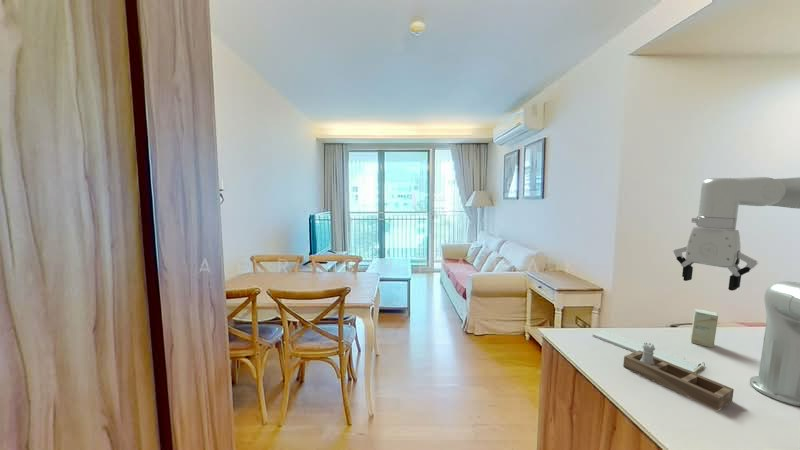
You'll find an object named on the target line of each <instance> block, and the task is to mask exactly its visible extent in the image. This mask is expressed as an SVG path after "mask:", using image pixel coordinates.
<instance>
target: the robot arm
mask: <svg viewBox="0 0 800 450" xmlns="http://www.w3.org/2000/svg"><path fill="white" fill-rule="evenodd" d="M700 189H701V190H700V199H699V205H698V216H697V217H692V218H691V223H692V224H693V223H695V224H696V225H695V226H694V227H692V229H691V230H690V231H691V232H690V234H689V237H688V242H687V245H686V246H685V247H681V248H677V249H674V250H673V251H672V252H673V253H674V255H675V257H676V260H677V261H678V263H680V266H681V267H682V275H681V277H683V281H685V282H687V281H691V280H692V278H693V272H694V267H693V266H692V265H693V264H700V265H706V266H712V267H718V268H727V269H728V270H729V272H730V273H731V274H732V275H730V276H729V281H728V288H727V289H728V290H729V291H736V290H737V289H740V286H741V281H742V276H743V275H745V274H747V273H750V272H751V271H752V270H753V269H755V268H756V266H758V264H759V261H757V260H756V259H754V258H752V257H750V256H748V255H746V254H744V253H742V252H741V236H740V232H739V230H738V229H736V228H737V220H738V212H739V206H749V207H766V206H767V207H778V208H779V207H782V208H790V209H797V210H798V209H800V176H799V177H798V176H797V177H787V178H785V177H783V178H773V177H769V176H768V177H767V176H763V177H762V176H758V177H757V176H756V177H755V176H754V177H753V176H752V177H751V176H750V177H736V178H735V177H733V178H732V177H717V178H716V177H715V178H712V177H711V178H707V179H705V180H703V181H702V183H701V188H700ZM683 253H685V257H684V256H683ZM740 261H743V262H744V263H746V265H745V266H744V267H742V268H741V267H740V266H739V264H740ZM764 307H765V314H766V316H765V319H766V320H765V329H764V335H763V343H762V349H761V350H762V351H761V357H760V363H759V371H758V376H757V375H756V376H751V377H750V378H749V385H750V386H751V387H752V388H754V390H756V391H757V392H759V393H761V394H763V395H764V396H767V397H769V398H772V399H774V400H776V401H779V402H782V403H785V404H789V405H792V406H798V407H800V282H797V281H786V280H783V281H777V282H774V283H773V284H770V285H769V286H768V287H767V289H766V290H765V293H764Z"/></svg>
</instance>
